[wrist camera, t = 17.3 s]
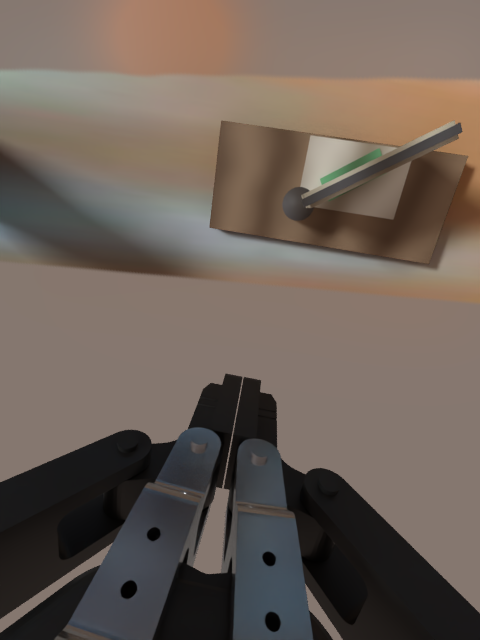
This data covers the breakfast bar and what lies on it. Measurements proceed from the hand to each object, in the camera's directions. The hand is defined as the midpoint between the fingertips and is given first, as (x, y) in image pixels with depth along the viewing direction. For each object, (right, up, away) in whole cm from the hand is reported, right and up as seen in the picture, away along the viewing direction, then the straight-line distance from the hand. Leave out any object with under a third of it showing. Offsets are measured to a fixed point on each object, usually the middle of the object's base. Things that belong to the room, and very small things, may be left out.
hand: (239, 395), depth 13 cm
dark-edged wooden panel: (+10, +17, +18) cm, 27 cm away
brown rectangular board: (+9, +17, +21) cm, 29 cm away
